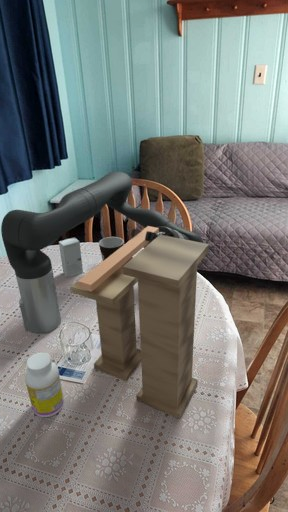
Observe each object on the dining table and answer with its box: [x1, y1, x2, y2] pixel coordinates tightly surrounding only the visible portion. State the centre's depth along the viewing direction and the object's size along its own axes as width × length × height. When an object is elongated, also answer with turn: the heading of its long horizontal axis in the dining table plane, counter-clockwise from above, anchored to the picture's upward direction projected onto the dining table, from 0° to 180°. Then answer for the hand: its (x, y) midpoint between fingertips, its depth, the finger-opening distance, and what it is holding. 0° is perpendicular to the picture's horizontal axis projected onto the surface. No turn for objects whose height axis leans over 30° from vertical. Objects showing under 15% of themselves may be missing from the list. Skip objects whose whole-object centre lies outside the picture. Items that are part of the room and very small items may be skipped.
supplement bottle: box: [24, 352, 65, 418], centre depth 73 cm, size 7×7×13 cm
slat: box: [77, 226, 159, 292], centre depth 77 cm, size 28×3×2 cm, turn 152°
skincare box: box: [58, 237, 84, 278], centre depth 123 cm, size 6×4×12 cm
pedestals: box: [70, 235, 210, 420], centre depth 75 cm, size 18×24×34 cm
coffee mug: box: [98, 236, 125, 262], centre depth 127 cm, size 12×9×10 cm
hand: (140, 234), depth 82 cm, fingers closed on slat, 3 cm apart
